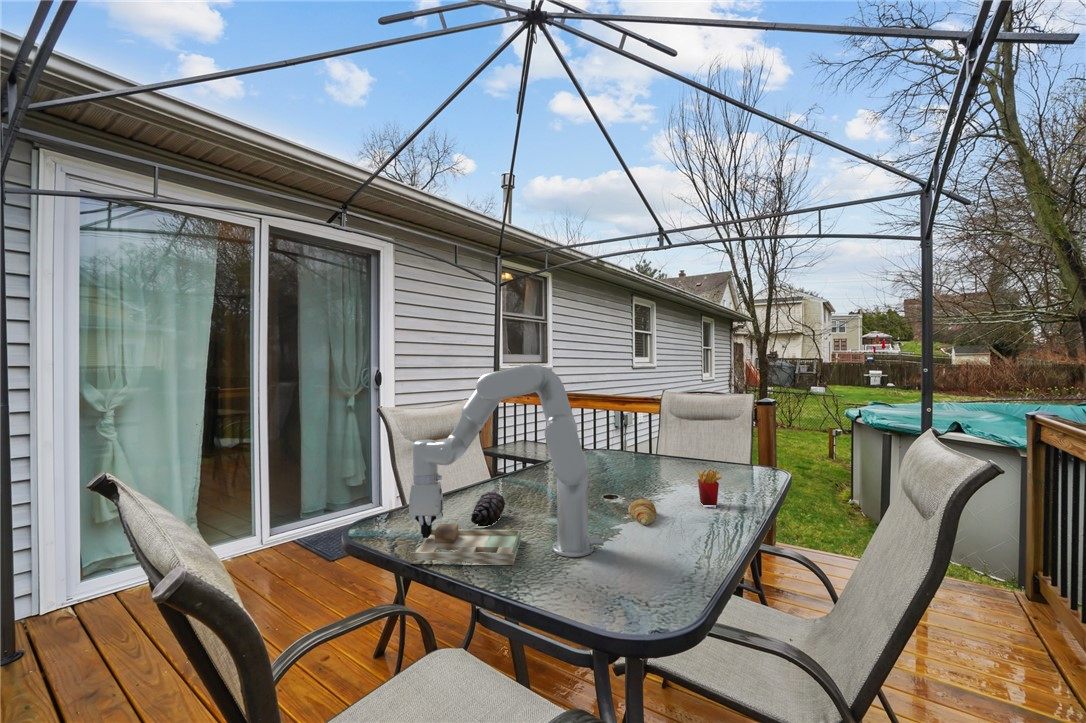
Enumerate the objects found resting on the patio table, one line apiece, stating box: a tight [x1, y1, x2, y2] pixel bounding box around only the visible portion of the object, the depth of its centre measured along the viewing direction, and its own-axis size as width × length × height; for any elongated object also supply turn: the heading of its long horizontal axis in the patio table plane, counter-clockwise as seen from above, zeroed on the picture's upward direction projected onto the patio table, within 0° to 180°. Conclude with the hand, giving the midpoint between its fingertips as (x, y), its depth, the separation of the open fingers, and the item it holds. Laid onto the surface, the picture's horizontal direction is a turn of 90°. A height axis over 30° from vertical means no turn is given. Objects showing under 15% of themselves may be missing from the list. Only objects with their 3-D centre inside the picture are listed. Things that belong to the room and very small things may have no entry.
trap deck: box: [409, 528, 522, 566], centre depth 148 cm, size 30×19×4 cm, turn 86°
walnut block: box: [435, 523, 459, 544], centre depth 153 cm, size 6×6×4 cm
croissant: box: [627, 497, 658, 526], centre depth 178 cm, size 21×10×8 cm, turn 176°
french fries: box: [697, 468, 722, 506], centre depth 189 cm, size 9×8×15 cm
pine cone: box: [470, 491, 506, 526], centre depth 175 cm, size 10×18×10 cm, turn 172°
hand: (426, 536), depth 153 cm, fingers closed
